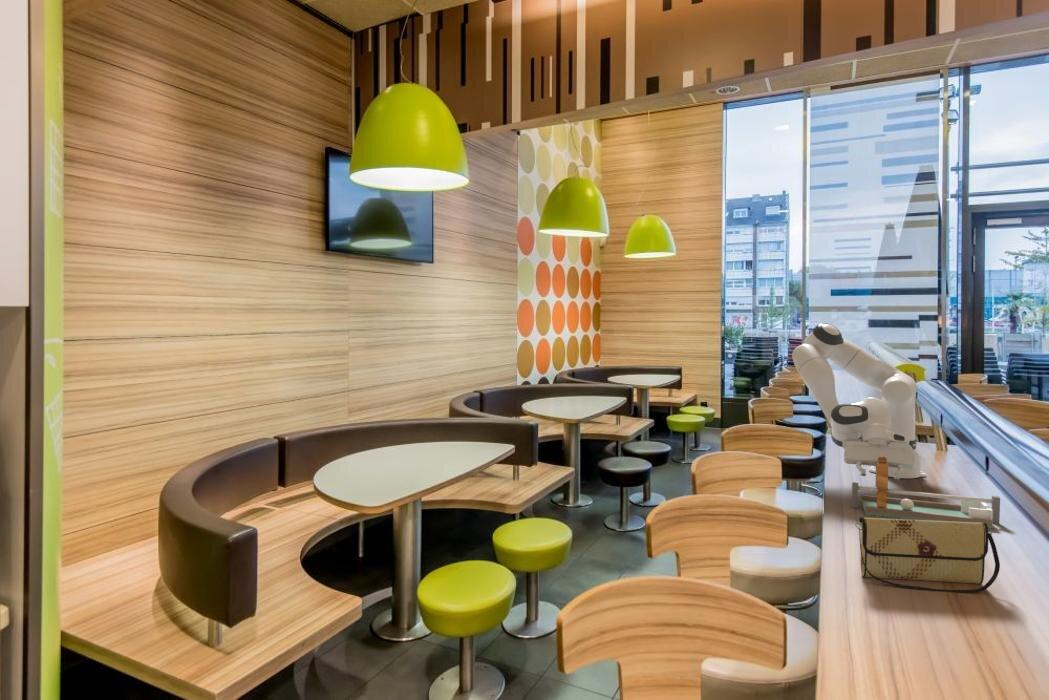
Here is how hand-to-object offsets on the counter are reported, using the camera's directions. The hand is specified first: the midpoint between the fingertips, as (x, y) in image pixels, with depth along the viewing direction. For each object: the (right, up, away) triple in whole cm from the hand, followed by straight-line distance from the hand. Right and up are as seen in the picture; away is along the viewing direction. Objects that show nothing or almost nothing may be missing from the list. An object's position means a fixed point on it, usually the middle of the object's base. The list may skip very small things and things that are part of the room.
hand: (880, 476), depth 185 cm
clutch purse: (-20, -15, -49) cm, 55 cm away
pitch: (+10, -11, -5) cm, 16 cm away
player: (0, -9, 0) cm, 9 cm away
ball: (+7, -8, -3) cm, 11 cm away
